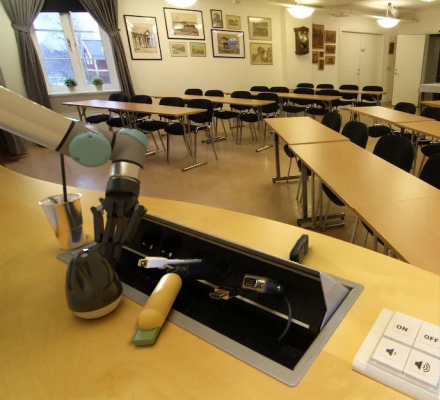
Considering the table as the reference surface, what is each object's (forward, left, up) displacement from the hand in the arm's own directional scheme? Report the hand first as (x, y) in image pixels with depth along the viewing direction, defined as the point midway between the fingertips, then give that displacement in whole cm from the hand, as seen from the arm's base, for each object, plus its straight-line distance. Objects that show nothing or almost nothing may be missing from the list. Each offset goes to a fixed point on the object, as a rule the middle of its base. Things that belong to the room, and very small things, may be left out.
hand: (107, 272), depth 75 cm
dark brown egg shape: (0, -6, -6) cm, 8 cm away
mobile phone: (+46, +13, -6) cm, 48 cm away
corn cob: (+14, -8, -6) cm, 17 cm away
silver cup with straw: (-24, +27, -6) cm, 37 cm away
